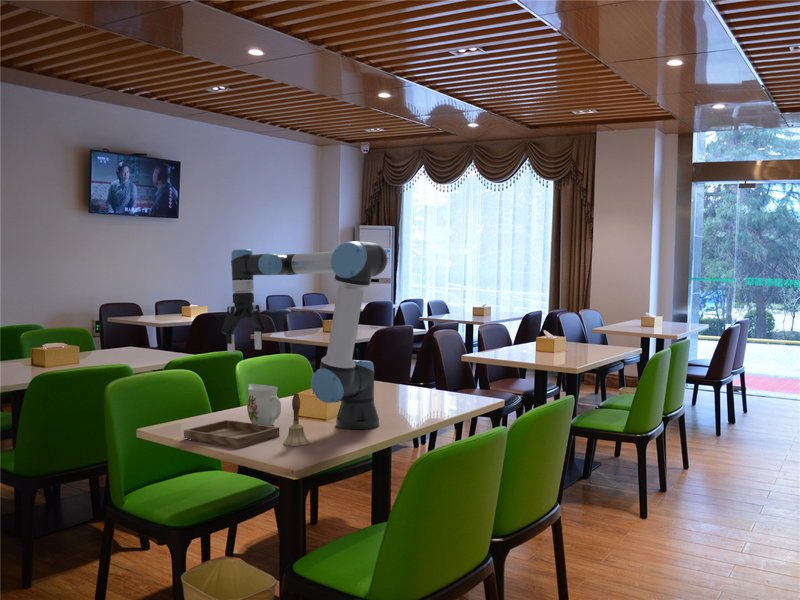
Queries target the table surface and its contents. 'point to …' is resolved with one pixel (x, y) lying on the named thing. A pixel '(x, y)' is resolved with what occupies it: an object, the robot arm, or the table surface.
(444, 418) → the table surface
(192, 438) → the tray
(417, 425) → the table surface
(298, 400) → the hand bell
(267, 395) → the pitcher
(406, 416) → the table surface
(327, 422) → the table surface
